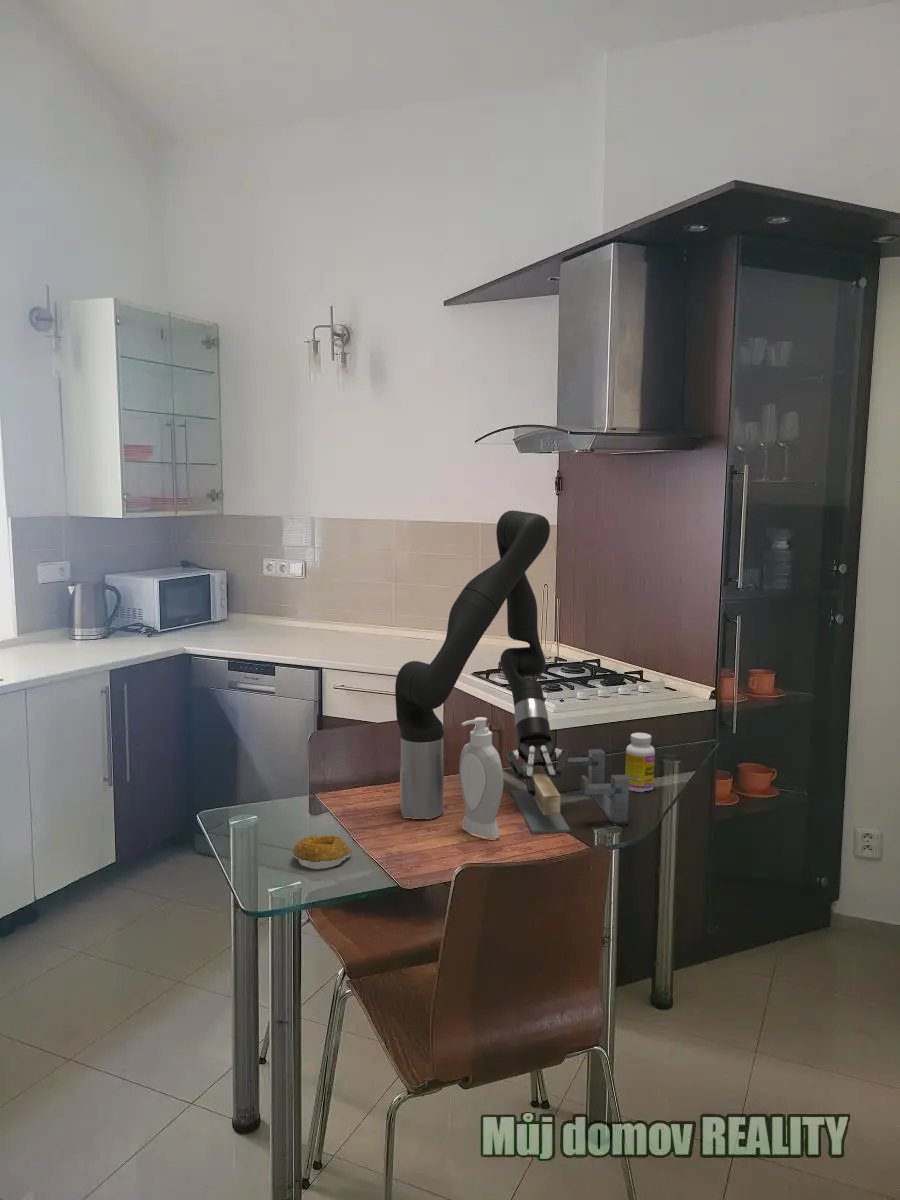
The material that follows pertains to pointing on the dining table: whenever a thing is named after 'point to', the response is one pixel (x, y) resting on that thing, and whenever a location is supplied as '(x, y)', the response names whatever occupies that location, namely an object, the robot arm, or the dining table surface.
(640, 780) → the supplement bottle
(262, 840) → the dining table surface
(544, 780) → the rail
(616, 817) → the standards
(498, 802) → the soap bottle
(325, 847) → the bagel
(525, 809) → the mat
